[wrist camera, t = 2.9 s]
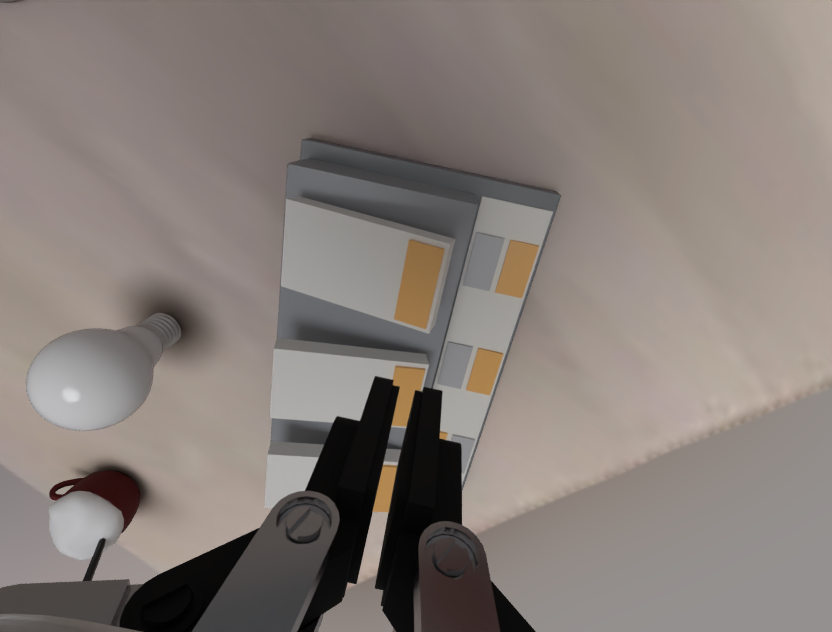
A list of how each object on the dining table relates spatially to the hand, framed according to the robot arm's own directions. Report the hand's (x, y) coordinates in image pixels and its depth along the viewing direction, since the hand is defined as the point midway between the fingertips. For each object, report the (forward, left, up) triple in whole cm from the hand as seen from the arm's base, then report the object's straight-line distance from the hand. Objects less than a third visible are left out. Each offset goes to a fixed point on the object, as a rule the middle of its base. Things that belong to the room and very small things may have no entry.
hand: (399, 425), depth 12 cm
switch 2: (+8, -4, -13) cm, 15 cm away
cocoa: (+31, -25, -19) cm, 44 cm away
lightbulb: (+11, -19, -19) cm, 29 cm away
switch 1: (0, -4, -13) cm, 13 cm away
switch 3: (+16, -4, -13) cm, 21 cm away
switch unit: (+8, -1, -19) cm, 21 cm away
